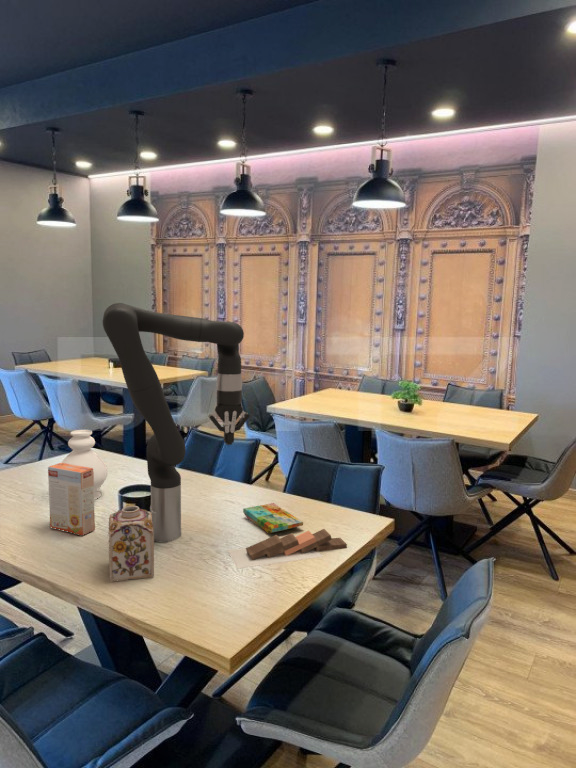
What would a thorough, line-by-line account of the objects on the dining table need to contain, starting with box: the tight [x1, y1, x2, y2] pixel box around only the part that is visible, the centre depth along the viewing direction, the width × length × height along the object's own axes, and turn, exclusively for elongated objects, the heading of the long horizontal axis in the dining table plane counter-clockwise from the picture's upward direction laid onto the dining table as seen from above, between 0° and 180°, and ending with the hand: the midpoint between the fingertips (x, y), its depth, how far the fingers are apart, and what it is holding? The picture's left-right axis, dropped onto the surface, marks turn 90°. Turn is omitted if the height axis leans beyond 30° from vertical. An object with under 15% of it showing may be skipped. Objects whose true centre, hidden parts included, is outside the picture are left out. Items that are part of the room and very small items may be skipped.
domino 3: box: [283, 530, 316, 556], centre depth 169 cm, size 2×5×10 cm
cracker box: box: [47, 462, 96, 536], centre depth 181 cm, size 14×6×21 cm, turn 65°
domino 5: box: [313, 537, 348, 553], centre depth 173 cm, size 2×5×10 cm
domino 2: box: [266, 532, 299, 558], centre depth 168 cm, size 2×5×10 cm
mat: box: [227, 547, 324, 569], centre depth 167 cm, size 26×12×1 cm, turn 109°
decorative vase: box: [61, 429, 109, 501], centre depth 210 cm, size 18×18×25 cm
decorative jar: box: [108, 505, 155, 582], centre depth 154 cm, size 12×12×18 cm
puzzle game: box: [242, 502, 304, 534], centre depth 189 cm, size 12×5×20 cm
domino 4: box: [300, 528, 333, 554], centre depth 171 cm, size 2×5×10 cm
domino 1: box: [245, 534, 283, 560], centre depth 166 cm, size 2×5×10 cm
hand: (228, 444), depth 172 cm, fingers closed
